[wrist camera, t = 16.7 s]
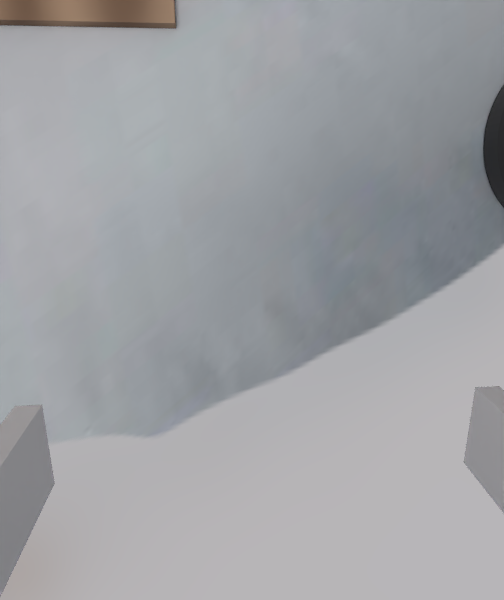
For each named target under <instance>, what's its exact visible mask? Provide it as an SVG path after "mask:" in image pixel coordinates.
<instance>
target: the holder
mask: <svg viewBox="0 0 504 600" xmlns="http://www.w3.org/2000/svg"><path fill="white" fill-rule="evenodd" d="M0 25H32V26H85V27H138V28H176V23H175V0H0Z"/></svg>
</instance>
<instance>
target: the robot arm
mask: <svg viewBox="0 0 504 600" xmlns="http://www.w3.org/2000/svg"><path fill="white" fill-rule="evenodd" d="M484 158H485V166H486V171H487V175H488V178H489V181H490V184H491V186H492V189H493V191H494V193H495V195H496V196H497V198H498V200H499V201H500V202H501V204H502V205H503V206H504V86H503V88H502V89H501V91H500V93H499V94H498V96H497V98H496V100H495V102H494V104H493V107H492V110H491V112H490V115H489V118H488V122H487V126H486V132H485V140H484ZM464 463H465V465H466V466H467V467H468V468H469V469H470V471H471V472H472V473H473V475H474V476H475V477H476V479H477V480H478V481H479V482H480V483H481V485H482V486H483V487H484V489H485V490H486V491H487V493H488V494H489V495H490V496H491V498H492V499H493V500H494V501H495V503H496V504H497V505H498V507H499V508H500V509H501V510H502V512H503V513H504V390H503V389H502V388H500V387H499V386H495V387H476V388H475V394H474V400H473V407H472V413H471V419H470V426H469V432H468V438H467V444H466V451H465V457H464ZM53 486H54V477H53V471H52V464H51V458H50V452H49V446H48V439H47V433H46V427H45V420H44V414H43V408H42V405H27V406H15V407H14V408H13V409H12V411H11V412H10V413H9V414H8V416H7V417H6V418H5V420H4V421H3V422H2V423H1V425H0V596H1V594H2V592H3V590H4V588H5V586H6V584H7V582H8V580H9V577H10V575H11V573H12V571H13V569H14V567H15V565H16V563H17V561H18V559H19V557H20V554H21V552H22V550H23V548H24V546H25V544H26V542H27V540H28V537H29V536H30V534H31V531H32V529H33V527H34V525H35V523H36V521H37V519H38V517H39V515H40V513H41V511H42V508H43V506H44V504H45V502H46V500H47V498H48V496H49V494H50V492H51V490H52V487H53Z"/></svg>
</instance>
